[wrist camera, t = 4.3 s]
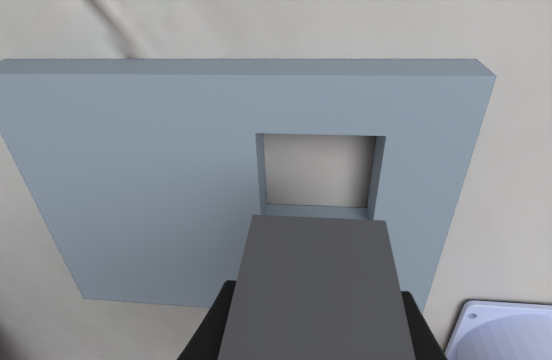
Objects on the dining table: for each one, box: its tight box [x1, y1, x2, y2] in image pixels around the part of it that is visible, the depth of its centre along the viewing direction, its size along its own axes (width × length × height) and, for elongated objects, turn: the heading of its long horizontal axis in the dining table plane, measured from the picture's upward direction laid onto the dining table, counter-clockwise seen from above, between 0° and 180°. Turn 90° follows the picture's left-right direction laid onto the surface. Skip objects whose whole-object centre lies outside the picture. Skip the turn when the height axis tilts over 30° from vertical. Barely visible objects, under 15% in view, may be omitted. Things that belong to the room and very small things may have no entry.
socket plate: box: [0, 59, 496, 314], centre depth 19 cm, size 14×20×2 cm
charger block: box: [218, 215, 416, 360], centre depth 10 cm, size 4×4×6 cm
